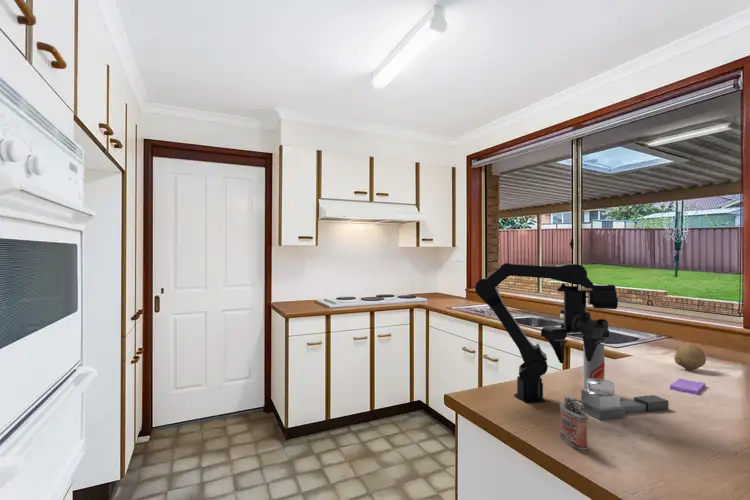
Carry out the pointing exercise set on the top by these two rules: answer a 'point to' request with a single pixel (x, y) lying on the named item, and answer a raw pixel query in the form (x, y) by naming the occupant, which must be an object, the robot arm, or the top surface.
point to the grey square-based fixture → (600, 394)
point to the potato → (690, 357)
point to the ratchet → (628, 407)
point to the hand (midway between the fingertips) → (575, 362)
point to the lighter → (574, 424)
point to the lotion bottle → (594, 365)
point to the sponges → (687, 386)
